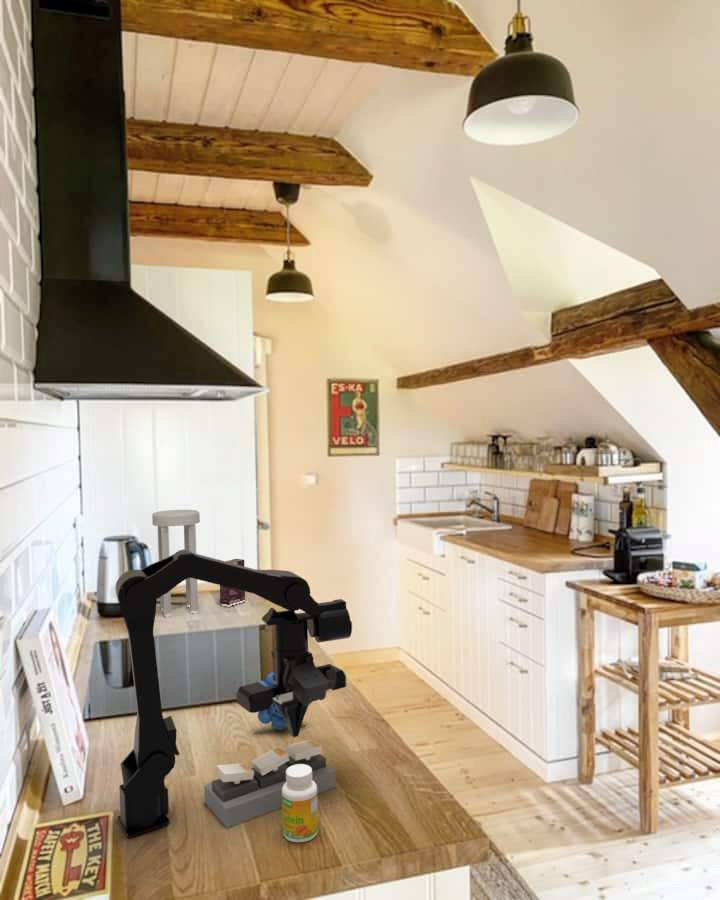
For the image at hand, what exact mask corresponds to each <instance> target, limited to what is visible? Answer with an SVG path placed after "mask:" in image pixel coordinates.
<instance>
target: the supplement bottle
mask: <svg viewBox="0 0 720 900" xmlns="http://www.w3.org/2000/svg"><path fill="white" fill-rule="evenodd" d="M286 781H287V782H286V783H285V784H284V785H283V788H282V808H281V809H282V813H281V814H282V834H283V837H284V838H285V840H287V841H289V842H291V843H292V842H293V843H305V842H308V841H311V840H312V839H314V838H315V837H316V836H317V834H318V832H319V807H318V794H317V786H316V783H315V782H314V781H313V780H312V768H311V767H310V766H308V765H305V764H296V765H292V766H290V767H289V768H287V770H286Z"/></svg>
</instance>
